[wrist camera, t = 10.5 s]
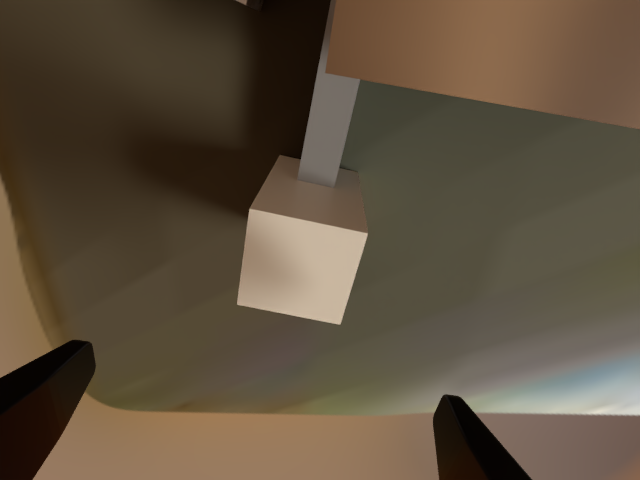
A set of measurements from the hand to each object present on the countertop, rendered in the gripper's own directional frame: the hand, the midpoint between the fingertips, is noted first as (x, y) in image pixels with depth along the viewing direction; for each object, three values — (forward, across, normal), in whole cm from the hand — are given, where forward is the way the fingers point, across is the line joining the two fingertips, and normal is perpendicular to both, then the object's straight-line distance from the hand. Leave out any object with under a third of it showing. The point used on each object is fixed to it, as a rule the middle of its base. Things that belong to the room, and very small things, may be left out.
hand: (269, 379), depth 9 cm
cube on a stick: (+11, -1, -7) cm, 13 cm away
